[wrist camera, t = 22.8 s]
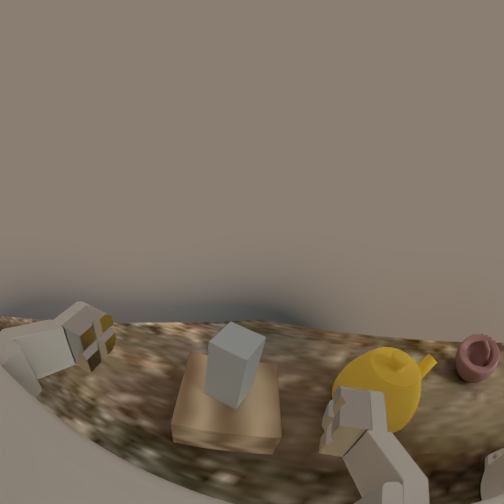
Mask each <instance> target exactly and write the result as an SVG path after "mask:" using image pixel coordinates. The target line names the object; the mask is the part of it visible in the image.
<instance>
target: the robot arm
mask: <svg viewBox="0 0 504 504" xmlns="http://www.w3.org/2000/svg"><path fill="white" fill-rule="evenodd" d="M112 324H113V321H112V317H111V316H110V315H108V314H107V313H104V312H102V311H100V310H98V309H96V308H95V307H93V306H90V305H88V304H86V303H84V302H83V301H79V302H76V303H75V304H74V305H72V306H71V307H70V308H68V309H67V310H66V311H64V312H63V313H62V314H60V315H59V316H58V317H57V318H55V319H54V320H50V319H49V320H44V321H39V322H35V323H30V324H25V325H20V326H16V327H11V328H6V329H3V330H2V331H0V504H233V503H230V502H226V501H222V500H219V499H216V498H213V497H209V496H206V495H203V494H200V493H198V492H195V491H192V490H189V489H187V488H184V487H181V486H179V485H176V484H174V483H171V482H169V481H167V480H164V479H162V478H160V477H158V476H155V475H153V474H151V473H149V472H147V471H145V470H143V469H141V468H139V467H137V466H135V465H133V464H131V463H129V462H127V461H125V460H123V459H122V458H120V457H118V456H116V455H114V454H113V453H111V452H109V451H108V450H106V449H104V448H103V447H101V446H99V445H98V444H96V443H95V442H93V441H91V440H90V439H88V438H87V437H85V436H84V435H82V434H81V433H79V432H78V431H77V430H75V429H74V428H72V427H71V426H70V425H68V424H67V423H65V422H64V421H63V420H61V419H60V418H59V417H57V416H56V415H55V414H54V413H52V412H51V411H50V410H49V409H47V408H46V407H45V406H44V405H43V404H41V403H40V402H39V401H38V400H37V399H36V398H35V397H36V396H37V395H38V394H39V393H40V392H41V391H42V388H41V386H40V384H39V382H38V380H37V379H39V378H42V377H45V376H47V375H50V374H52V373H55V372H57V371H60V370H62V369H65V368H67V367H70V366H72V365H75V363H76V364H77V365H79V366H81V367H83V368H84V369H86V370H88V371H90V372H92V371H93V370H94V369H95V368H96V367H97V366H98V365H99V364H100V363H101V357H102V356H105V355H108V354H109V353H110V352H111V351H112V349H113V347H114V345H115V339H116V337H115V332H114V331H113V329H112V328H111V326H112ZM322 427H323V429H324V430H325V431H324V433H323V434H322V436H321V437H320V446H319V453H321V454H327V455H334V456H341V457H343V460H344V462H345V464H346V466H347V468H348V470H349V472H350V474H351V476H352V478H353V480H354V482H355V484H356V486H357V488H358V490H359V492H360V494H361V496H362V499H360V500H358V501H357V502H355V503H353V504H429V486H428V478H427V477H426V476H425V475H424V473H423V472H422V471H421V469H420V468H419V467H418V465H417V464H416V463H415V462H414V460H413V459H412V458H411V456H410V455H409V454H408V453H407V451H406V450H405V449H404V447H403V446H402V445H401V444H400V442H399V441H398V440H397V438H396V437H395V436H394V435H393V433H392V432H387V420H386V410H385V401H384V394H383V393H382V392H379V391H371V390H364V389H357V388H350V387H344V386H339V387H338V388H337V389H336V391H335V392H334V399H333V400H331V401H329V403H328V405H327V407H326V410H325V412H324V416H323V421H322ZM481 498H482V501H479V502H476V503H472V504H504V448H502V449H500V450H498V451H496V452H493V453H491V454H489V455H488V456H486V458H485V471H484V474H483V477H482V481H481Z"/></svg>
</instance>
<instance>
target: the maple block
mask: <svg viewBox="0 0 504 504" xmlns="http://www.w3.org/2000/svg"><path fill="white" fill-rule="evenodd" d="M207 357H208V355H205V354H199V353H193V352H190V353H189V356H188V360H187V364H186V367H185V371H184V375H183V378H182V382H181V386H180V390H179V394H178V397H177V401H176V405H175V409H174V413H173V417H172V421H171V429H172V437H173V442H175V443H180V444H185V445H191V446H197V447H203V448H209V449H217V450H225V451H234V452H244V453H258V454H273V452H274V451H275V449H276V447H277V445H278V443H279V442H280V440H281V438H282V434H281V417H280V400H279V385H278V370H277V364H274V363H264V362H259V366H258V370H257V373H256V377H255V381H254V384H253V388H252V389H251V390H250V392H249V393H248V394H247V396H246V397H245V398H244V400H243V401H242V402H241V404H240V405H239V406H238V408H237V409H234V408H232V407H230V406H228V405H226V404H224V403H222V402H220V401H218V400H216V399H214V398H213V397H211V396H209V395H207V394H205V393H204V392H205V380H206V368H207Z"/></svg>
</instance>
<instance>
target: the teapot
mask: <svg viewBox="0 0 504 504" xmlns="http://www.w3.org/2000/svg"><path fill="white" fill-rule="evenodd" d="M436 363H437V362H436V360H435V359H434V358H433V357H432V356H431V355H430V354H428V355H427V356H426V357H425V358H424V359H423V360H422V361H421V362H420V363H418V364H417V363H416V362H415V361H414V360H413V358H412V357H410V356H409V355H408V354H406V353H405V352H403V351H401V350H399V349H396V348H391V347H380V348H377V349H374V350H371V351H369V352H367V353H365V354H363V355H361V356H359V357H358V358H356V359H354V360H353V361H352V362H350V363H349V364H348V365H347V366H346V367H345V368H344V369H343V370H342V371H341V372H340V373H339V375H338V376H337V378H336V380H335V381H334V384H333V387H332V400H333V399H334V392H335V391H336V389H337V388H338V387H339V386H344V387H350V388H357V389H364V390H371V391H379V392H382V393H383V394H384V401H385V410H386V420H387V432H392V433H394V432H397V431H399V430H400V429H402V428H403V427H405V425H406V424H407V423H408V422H409V421H410V420H411V418H412V417H413V415H414V413H415V411H416V409H417V406H418V404H419V400H420V395H421V379H422V378H423V377H424V376H425V375H426V374H427V373H428V372H429V371H430V370H431V369H432V367H433V366H434V365H435V364H436Z"/></svg>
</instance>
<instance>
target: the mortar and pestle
mask: <svg viewBox="0 0 504 504" xmlns="http://www.w3.org/2000/svg"><path fill="white" fill-rule="evenodd" d="M499 357H500V352H499V348H498V346H497V344H496V342H495V341H494V340H492V339H491V337H488V336H487V335H483V334H476V335H471V336H469V337H467V338H466V339H465V340H464V341H463V342H462V343H461V345H460V346H459V348H458V351H457V354H456V359H455V365H456V369H457V372H458V374H459V375H460V377H461V378H462V379H464V380H465V381H467V382H470V383H477V382H481V381H483V380H485V379H486V378H488V377H489V376H490V375H491V374H492V373H493V371H494V370H495V368H496V366H497V364H498V361H499Z"/></svg>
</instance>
